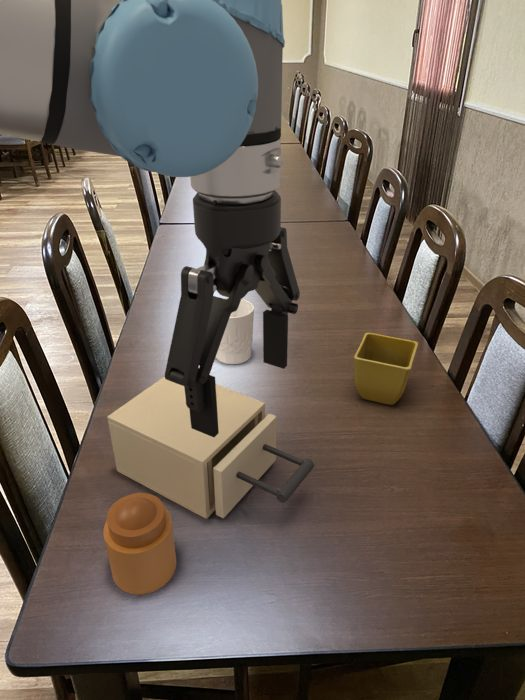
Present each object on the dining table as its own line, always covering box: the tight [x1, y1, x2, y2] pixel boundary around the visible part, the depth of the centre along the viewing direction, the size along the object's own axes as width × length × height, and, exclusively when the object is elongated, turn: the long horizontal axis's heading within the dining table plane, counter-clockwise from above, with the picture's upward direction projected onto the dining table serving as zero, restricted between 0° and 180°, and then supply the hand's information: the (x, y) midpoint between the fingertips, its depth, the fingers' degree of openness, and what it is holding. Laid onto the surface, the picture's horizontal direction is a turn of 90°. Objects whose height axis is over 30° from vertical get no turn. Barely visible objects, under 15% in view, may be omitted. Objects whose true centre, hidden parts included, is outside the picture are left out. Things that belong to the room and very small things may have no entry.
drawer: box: [207, 413, 315, 519], centre depth 70 cm, size 22×12×8 cm, turn 58°
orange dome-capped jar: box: [102, 492, 177, 596], centre depth 59 cm, size 7×7×10 cm
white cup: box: [215, 297, 255, 365], centre depth 98 cm, size 8×8×10 cm
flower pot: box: [353, 332, 419, 406], centre depth 88 cm, size 9×9×9 cm
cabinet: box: [106, 376, 266, 520], centre depth 73 cm, size 16×14×10 cm
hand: (243, 394), depth 57 cm, fingers open, 13 cm apart
